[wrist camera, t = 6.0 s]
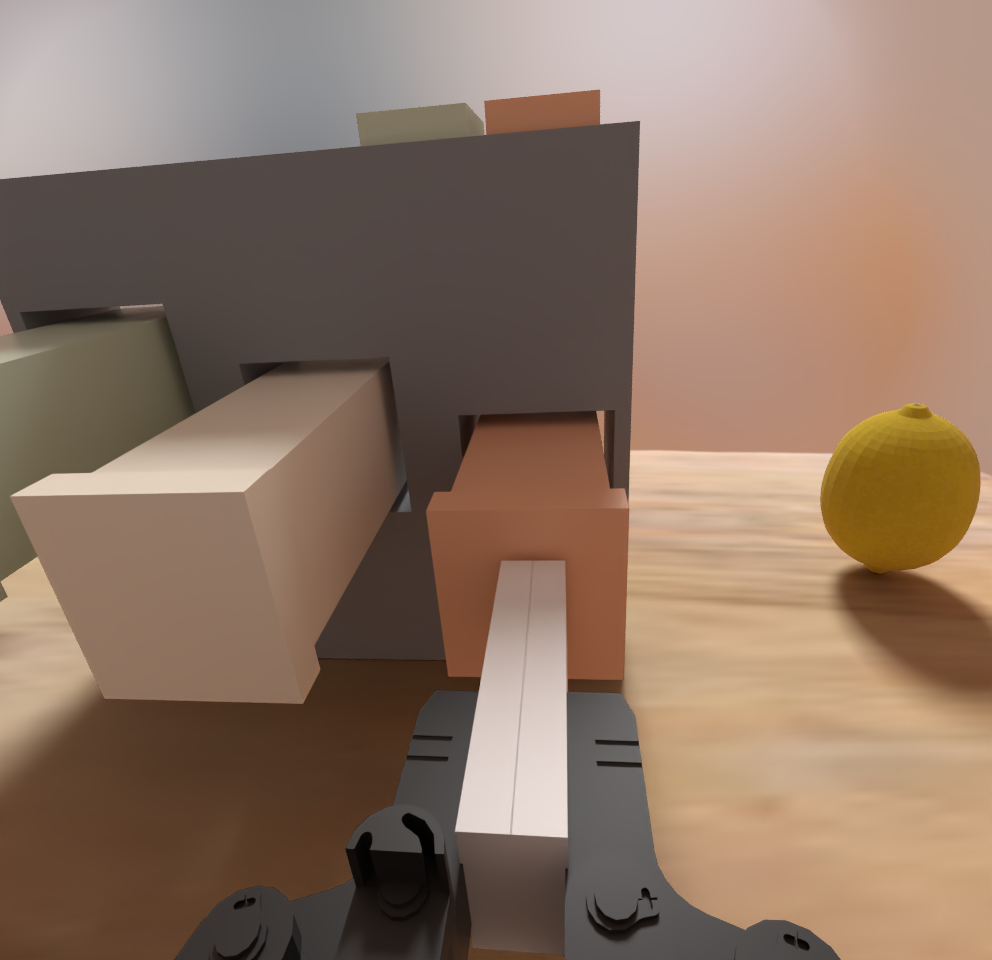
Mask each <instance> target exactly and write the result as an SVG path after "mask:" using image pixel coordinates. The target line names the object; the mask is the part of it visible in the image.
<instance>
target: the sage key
mask: <svg viewBox="0 0 992 960" xmlns="http://www.w3.org/2000/svg"><path fill="white" fill-rule="evenodd" d="M194 414H195V410H194V407H193V404H192V400H191V397H190V394H189V390H188V387H187V384H186V380H185V377H184V374H183V370H182V367H181V364H180V360H179V357H178V353H177V350H176V347H175V343H174V340H173V337H172V333H171V330H170V327H169V323H168V320H167V317H166V313H165V310H164V307H163V306H157V307H142V308H124V309H115V310H111V311H107V312H103V313H98V314H94V315H90V316H85V317H81V318H77V319H72V320H68V321H64V322H60V323H55V324H51V325H47V326H42V327H38V328H34V329H30V330H25V331H21V332H17V333H12V334H8V335H4V336H0V581H2V580H3V579H5V578H6V577H8V576H9V575H11V574H12V573H14V572H15V571H17V570H18V569H20V568H21V567H22V566H24V565H25V564H27V563H28V562H30V561H31V560H33V559H34V558H36V557H37V554H36V552H35V550H34V547H33V545H32V543H31V541H30V539H29V537H28V535H27V532H26V530H25V528H24V526H23V524H22V522H21V520H20V518H19V515H18V513H17V511H16V509H15V507H14V505H13V503H12V500H11V498H10V496H11V495H13V494H15V493H17V492H19V491H21V490H23V489H24V488H26V487H28V486H30V485H32V484H34V483H36V482H38V481H40V480H41V479H43V478H45V477H47V476H49V475H51V474H70V473H92V472H94V471H96V470H97V469H99V468H101V467H103V466H104V465H106V464H108V463H110V462H111V461H113V460H115V459H117V458H118V457H120V456H122V455H124V454H125V453H127V452H129V451H131V450H132V449H134V448H136V447H138V446H139V445H141V444H143V443H145V442H146V441H148V440H150V439H152V438H153V437H155V436H157V435H159V434H160V433H162V432H164V431H166V430H167V429H169V428H171V427H173V426H174V425H176V424H178V423H180V422H182V421H183V420H185V419H187V418H189V417H190V416H192V415H194ZM7 597H8V596H7V594H6V592H5V590H4V588H3V586H2V584H1V582H0V602H1V601H2V600H4V599H5V598H7Z"/></svg>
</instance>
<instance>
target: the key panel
mask: <svg viewBox="0 0 992 960" xmlns="http://www.w3.org/2000/svg"><path fill="white" fill-rule="evenodd" d="M484 102H485V118H486V133H487V135H484V124H483V122H482V120H481V119H480V118H479V117H478V116H477V115H476V114H475V113H474V112H473V110H472V109H471V108H470V107H469V106H468V105H467V104H466V103H459V104H450V105H439V106H429V107H418V108H409V109H399V110H388V111H378V112H368V113H358V114H356V117H357V124H358V130H359V137H360V144H361V146H360V147H350V148H340V149H328V150H317V151H306V152H295V153H284V154H273V155H263V156H251V157H240V158H230V159H218V160H208V161H196V162H185V163H174V164H164V165H152V166H143V167H130V168H120V169H109V170H98V171H87V172H76V173H65V174H54V175H43V176H32V177H21V178H10V179H0V300H1V303H2V305H3V308H4V310H5V313H6V315H7V317H8V320H9V322H10V324H11V327H12V330H13V332H14V333H17V332H21V331H25V330H30V329H34V328H38V327H42V326H47V325H51V324H55V323H60V322H64V321H68V320H72V319H77V318H81V317H85V316H90V315H94V314H98V313H103V312H107V311H111V310H115V309H120V307H119V306H129V305H146V304H163V307H164V310H165V313H166V317H167V320H168V323H169V327H170V330H171V333H172V337H173V340H174V343H175V347H176V350H177V353H178V357H179V360H180V364H181V367H182V370H183V374H184V377H185V380H186V384H187V387H188V390H189V394H190V397H191V400H192V404H193V407H194V410H195V414H196V413H197V412H199V411H201V410H203V409H204V408H206V407H208V406H210V405H211V404H213V403H215V402H217V401H218V400H220V399H222V398H224V397H225V396H227V395H229V394H231V393H232V392H234V391H236V390H238V389H239V388H241V387H243V386H245V385H246V384H248V383H250V382H252V381H253V380H255V379H257V378H259V377H260V376H262V375H264V374H266V373H267V372H269V371H271V370H273V369H274V368H276V367H278V366H280V365H281V364H283V363H285V362H290V361H311V360H332V359H354V358H375V357H389V361H390V368H391V374H392V381H393V388H394V395H395V402H396V409H397V415H398V422H399V429H400V436H401V443H402V450H403V456H404V463H405V470H406V477H407V480H406V482H405V484H404V486H403V487H402V489H401V491H400V493H399V495H398V496H397V498H396V500H395V502H394V504H393V505H392V507H391V509H390V511H389V512H388V514H387V516H386V518H385V520H384V521H383V523H382V525H381V527H380V529H379V530H378V532H377V534H376V536H375V538H374V539H373V541H372V543H371V545H370V547H369V548H368V550H367V552H366V554H365V556H364V557H363V559H362V561H361V563H360V564H359V566H358V568H357V570H356V572H355V573H354V575H353V577H352V579H351V581H350V582H349V584H348V586H347V588H346V590H345V591H344V593H343V595H342V597H341V599H340V600H339V602H338V604H337V606H336V608H335V609H334V611H333V613H332V615H331V616H330V618H329V620H328V622H327V624H326V625H325V627H324V629H323V631H322V633H321V634H320V636H319V638H318V640H317V642H316V643H315V645H314V646H315V650H316V654H317V658H338V659H399V660H446V656H445V649H444V641H443V634H442V626H441V619H440V611H439V604H438V597H437V589H436V582H435V574H434V567H433V559H432V552H431V545H430V537H429V530H428V522H427V515H426V510H427V508H428V505H429V503H430V501H431V498H432V496H433V494H434V492H451V490H452V487H453V485H454V482H455V479H456V477H457V474H458V472H459V469H460V466H461V464H462V461H463V458H464V456H465V453H466V450H467V448H468V445H469V443H470V440H471V437H472V435H473V432H474V429H475V427H476V424H477V422H478V419H479V415H486V414H515V413H544V412H574V411H601V410H602V411H603V410H604V411H605V412H604V413H605V414H604V422H605V423H604V458H605V464H606V469H607V475H608V480H609V486H610V489H618V488H625V492H626V496H627V501H628V499H629V466H630V433H631V399H632V365H633V333H634V300H635V267H636V233H637V200H638V168H639V134H640V132H639V131H640V121H636V122H635V121H634V122H624V123H613V124H603V125H602V124H601V125H600V90H591V91H581V92H572V93H561V94H551V95H541V96H530V97H520V98H510V99H500V100H490V101H484Z"/></svg>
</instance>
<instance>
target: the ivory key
mask: <svg viewBox="0 0 992 960" xmlns="http://www.w3.org/2000/svg"><path fill="white" fill-rule="evenodd" d="M406 480H407V477H406V470H405V463H404V456H403V450H402V443H401V436H400V429H399V422H398V415H397V409H396V402H395V395H394V388H393V381H392V374H391V368H390V361H389V357H375V358H354V359H332V360H311V361H290V362H285V363H283V364H281V365H280V366H278V367H276V368H274V369H273V370H271V371H269V372H267V373H266V374H264V375H262V376H260V377H259V378H257V379H255V380H253V381H252V382H250V383H248V384H246V385H245V386H243V387H241V388H239V389H238V390H236V391H234V392H232V393H231V394H229V395H227V396H225V397H224V398H222V399H220V400H218V401H217V402H215V403H213V404H211V405H210V406H208V407H206V408H204V409H203V410H201V411H199V412H197V413H196V414H194V415H192V416H190V417H189V418H187V419H185V420H183V421H182V422H180V423H178V424H176V425H174V426H173V427H171V428H169V429H167V430H166V431H164V432H162V433H160V434H159V435H157V436H155V437H153V438H152V439H150V440H148V441H146V442H145V443H143V444H141V445H139V446H138V447H136V448H134V449H132V450H131V451H129V452H127V453H125V454H124V455H122V456H120V457H118V458H117V459H115V460H113V461H111V462H110V463H108V464H106V465H104V466H103V467H101V468H99V469H97V470H96V471H94V472H92V473H70V474H51V475H49V476H47V477H45V478H43V479H41V480H40V481H38V482H36V483H34V484H32V485H30V486H28V487H26V488H24V489H23V490H21V491H19V492H17V493H15V494H13V495H11V496H10V498H11V500H12V503H13V505H14V507H15V509H16V511H17V513H18V515H19V518H20V520H21V522H22V524H23V526H24V528H25V530H26V532H27V535H28V537H29V539H30V541H31V543H32V545H33V547H34V550H35V552H36V554H37V556H38V558H39V560H40V562H41V564H42V567H43V569H44V571H45V573H46V575H47V577H48V579H49V582H50V584H51V586H52V588H53V590H54V592H55V594H56V596H57V599H58V601H59V603H60V605H61V607H62V609H63V611H64V614H65V616H66V618H67V620H68V622H69V624H70V626H71V628H72V631H73V633H74V635H75V637H76V639H77V641H78V643H79V646H80V648H81V650H82V652H83V654H84V656H85V658H86V660H87V663H88V665H89V667H90V669H91V671H92V673H93V675H94V678H95V680H96V682H97V684H98V686H99V688H100V690H101V692H102V695H103V697H104V699H137V700H176V701H214V702H253V703H291V704H303V703H304V701H305V699H306V697H307V695H308V693H309V691H310V689H311V687H312V685H313V683H314V681H315V680H316V678H317V676H318V674H319V672H320V666H319V662H318V658H317V654H316V650H315V646H314V645H315V643H316V642H317V640H318V638H319V636H320V634H321V633H322V631H323V629H324V627H325V625H326V624H327V622H328V620H329V618H330V616H331V615H332V613H333V611H334V609H335V608H336V606H337V604H338V602H339V600H340V599H341V597H342V595H343V593H344V591H345V590H346V588H347V586H348V584H349V582H350V581H351V579H352V577H353V575H354V573H355V572H356V570H357V568H358V566H359V564H360V563H361V561H362V559H363V557H364V556H365V554H366V552H367V550H368V548H369V547H370V545H371V543H372V541H373V539H374V538H375V536H376V534H377V532H378V530H379V529H380V527H381V525H382V523H383V521H384V520H385V518H386V516H387V514H388V512H389V511H390V509H391V507H392V505H393V504H394V502H395V500H396V498H397V496H398V495H399V493H400V491H401V489H402V487H403V486H404V484H405V482H406Z"/></svg>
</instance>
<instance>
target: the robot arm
mask: <svg viewBox="0 0 992 960" xmlns="http://www.w3.org/2000/svg"><path fill="white" fill-rule="evenodd" d="M345 849H346V853H347V856H348V860H349V864H350V867H351V871H352V874H353V878H352V879H351V880H349V881H348V882H346V883H345V884H343V885H340V886H338V887H335V888H333V889H331V890H327V891H324V892H321V893H317V894H314V895H310V896H307V897H303V898H300V899H297V900H293V901H290V902H289V901H288V899H287V897H286V896H285V895H283V894H282V893H281V892H279V891H278V890H277V889H275V888H273V887H264V886H254V887H251V888H247V889H244V890H240V891H237V892H236V893H234V894H233V895H231V896H230V897H228V898H227V899H225V900H223V901H222V902H220V903H219V904H218V905H217V906H216V907H215V908H214V909H213V910H212V911H211V912H210V913H209V914H208V916H207V917H206V918H205V919H204V920H203V921H202V922H201V923H200V925H199V926H198V928H197V929H196V930H195V932H194V933H193V934H192V936H191V937H190V939H189V940H188V941H187V943H186V944H185V946H184V947H183V948H182V950H181V951H180V953H179V954H178V955H177V957H176V958H175V960H467V957H468V949H469V941H470V935H471V941H472V948H478V949H491V950H504V951H516V952H529V953H541V954H554V955H565V960H841V959H840V958H839V957H838V955H837V954H836V953H835V952H834V950H833V949H832V948H831V947H830V946H829V945H828V944H826V943H825V942H824V941H823V940H821V939H820V938H819V937H817V936H816V935H815V934H814V933H812V932H811V931H810V930H808V929H806V928H803V927H801V926H798V925H796V924H793V923H791V922H788V921H786V920H763V921H761V922H759V923H757V924H755V925H753V926H751V927H749V928H747V929H746V930H744V929H741V928H739V927H737V926H734V925H732V924H729V923H727V922H725V921H722V920H720V919H718V918H715V917H713V916H710V915H708V914H706V913H704V912H702V911H701V910H699V909H697V908H695V907H693V906H691V905H690V904H689V903H688V902H686V901H685V900H684V899H683V898H682V897H680V896H679V895H678V894H677V893H676V892H675V891H674V889H673V888H672V887H671V886H670V884H669V883H668V882H667V881H666V879H665V877H664V875H663V873H662V871H661V870H660V868H659V866H658V863H657V859H656V855H655V851H654V845H653V838H652V831H651V824H650V817H649V810H648V803H647V796H646V789H645V782H644V775H643V768H642V761H641V754H640V747H639V740H638V733H637V726H636V719H635V715H634V713H633V712H632V710H631V709H630V707H629V706H628V704H627V703H626V701H625V699H624V698H623V696H622V695H621V693H593V692H568V677H567V620H566V576H565V560H550V561H501V565H500V571H499V577H498V583H497V589H496V595H495V600H494V606H493V612H492V618H491V624H490V630H489V635H488V641H487V647H486V653H485V659H484V665H483V670H482V676H481V682H480V688H479V691H449V690H436V691H435V692H434V693H433V694H432V696H431V697H430V698H429V699H428V701H427V702H426V703H425V704H424V706H423V707H422V708H421V709H420V711H419V714H418V718H417V721H416V725H415V728H414V732H413V738H412V740H411V742H410V746H409V749H408V753H407V760H405V764H404V767H403V771H402V774H401V778H400V781H399V785H398V788H397V792H396V796H395V799H394V803H393V806H389V807H386V808H384V809H382V810H380V811H378V812H376V813H374V814H372V815H370V816H369V817H368V818H367V819H366V820H365V821H364V822H363V823H362V824H361V825H360V826H359V827H358V828H357V829H356V830H355V831H354V833H353V835H352V837H351V839H350V840H349V842H348V844H347V846H346V848H345Z"/></svg>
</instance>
